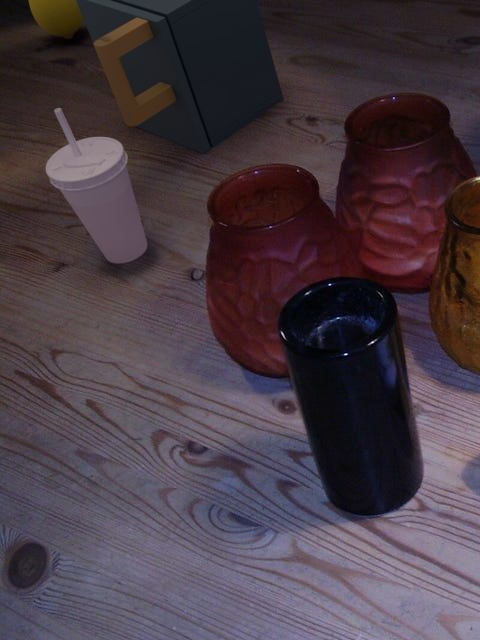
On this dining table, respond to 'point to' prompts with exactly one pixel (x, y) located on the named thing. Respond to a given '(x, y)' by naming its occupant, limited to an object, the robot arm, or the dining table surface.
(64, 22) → the lemon
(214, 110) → the cupboard
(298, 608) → the dining table surface
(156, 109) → the cupboard door
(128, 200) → the smoothie
